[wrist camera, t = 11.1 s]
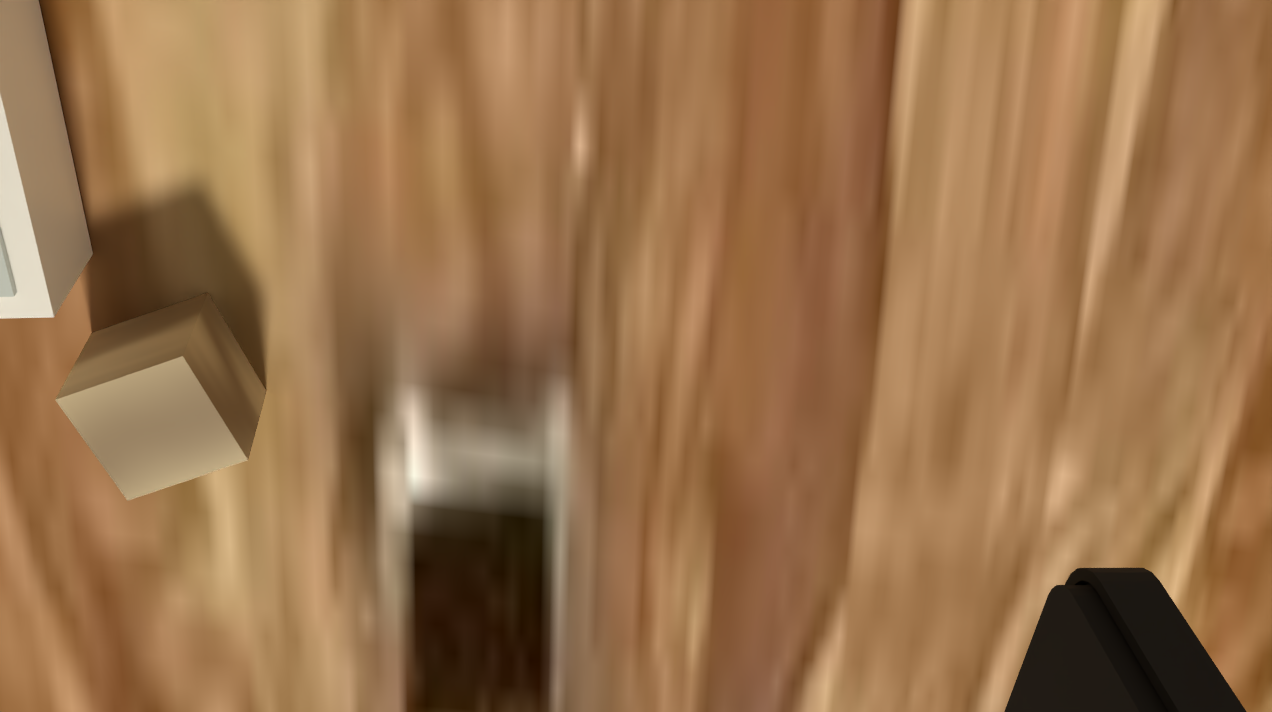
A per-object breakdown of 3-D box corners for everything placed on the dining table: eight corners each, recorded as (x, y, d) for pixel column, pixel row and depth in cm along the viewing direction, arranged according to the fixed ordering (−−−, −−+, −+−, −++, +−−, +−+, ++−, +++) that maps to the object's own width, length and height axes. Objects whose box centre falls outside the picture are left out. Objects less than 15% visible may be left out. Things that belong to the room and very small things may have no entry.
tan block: (92, 331, 38) (55, 400, 34) (208, 291, 37) (182, 356, 34) (156, 427, 40) (127, 500, 36) (266, 389, 39) (247, 460, 36)
